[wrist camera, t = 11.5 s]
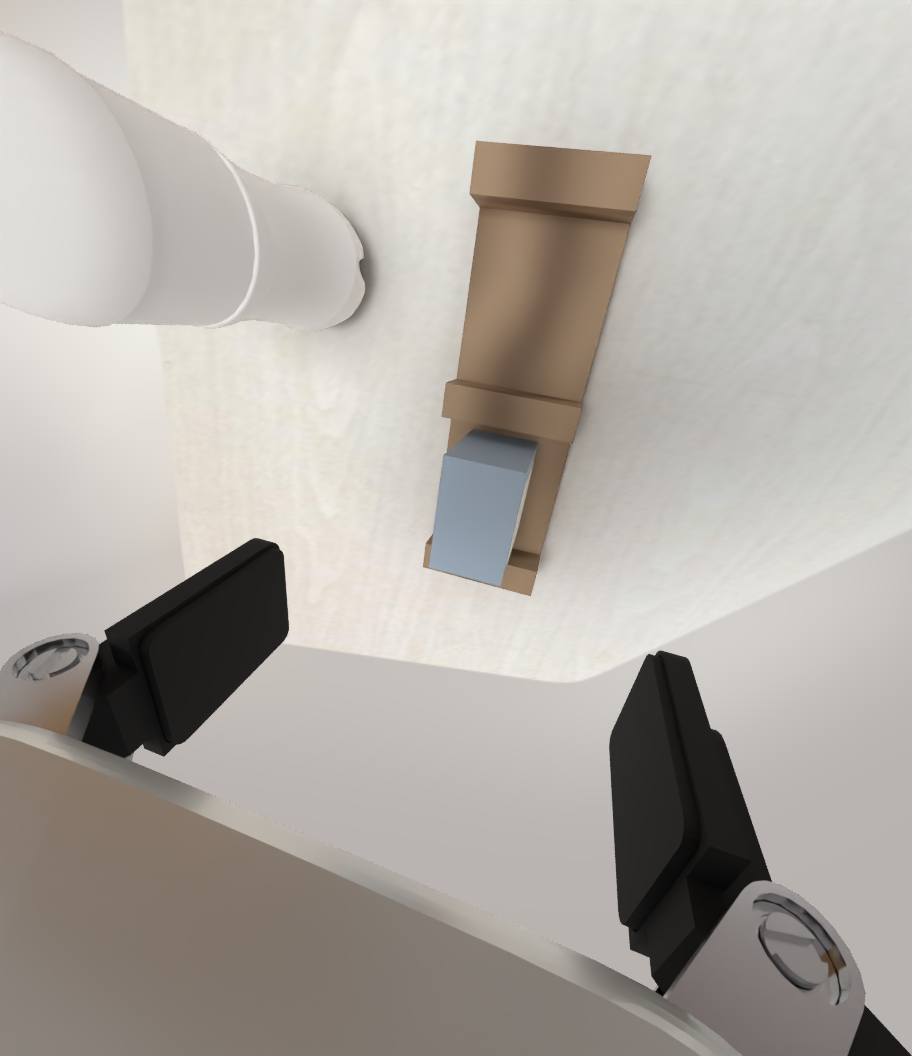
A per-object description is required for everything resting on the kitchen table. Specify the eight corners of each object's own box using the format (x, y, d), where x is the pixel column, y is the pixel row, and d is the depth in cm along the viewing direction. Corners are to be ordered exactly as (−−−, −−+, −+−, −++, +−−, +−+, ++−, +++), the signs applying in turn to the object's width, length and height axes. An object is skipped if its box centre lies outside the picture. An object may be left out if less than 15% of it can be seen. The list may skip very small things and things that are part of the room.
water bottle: (306, 344, 30) (-430, 369, 8) (264, 230, 28) (-954, -176, 6) (393, 312, 28) (-325, 223, 6) (356, 184, 25) (-1176, -857, 3)
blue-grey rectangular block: (539, 442, 27) (527, 473, 21) (516, 535, 30) (501, 587, 24) (473, 428, 28) (443, 455, 22) (458, 521, 31) (428, 567, 25)
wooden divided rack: (639, 184, 22) (651, 155, 18) (535, 567, 33) (530, 596, 29) (491, 170, 23) (476, 140, 20) (439, 542, 34) (423, 566, 30)
